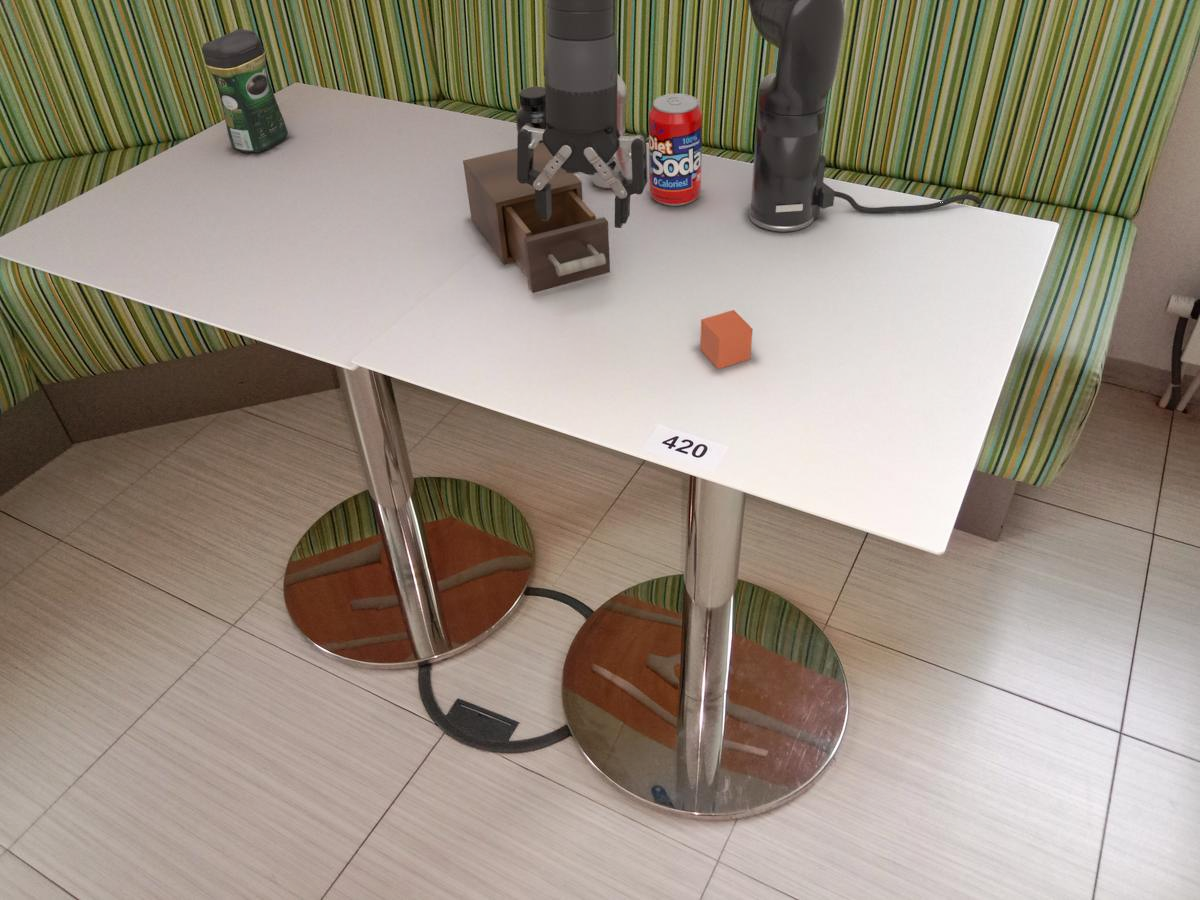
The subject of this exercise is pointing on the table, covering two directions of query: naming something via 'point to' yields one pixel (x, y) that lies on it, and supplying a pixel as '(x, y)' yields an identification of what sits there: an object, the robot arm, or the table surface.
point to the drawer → (557, 241)
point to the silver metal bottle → (620, 153)
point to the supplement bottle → (532, 108)
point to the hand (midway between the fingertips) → (582, 221)
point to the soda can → (675, 149)
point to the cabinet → (506, 191)
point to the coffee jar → (245, 91)
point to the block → (726, 339)
